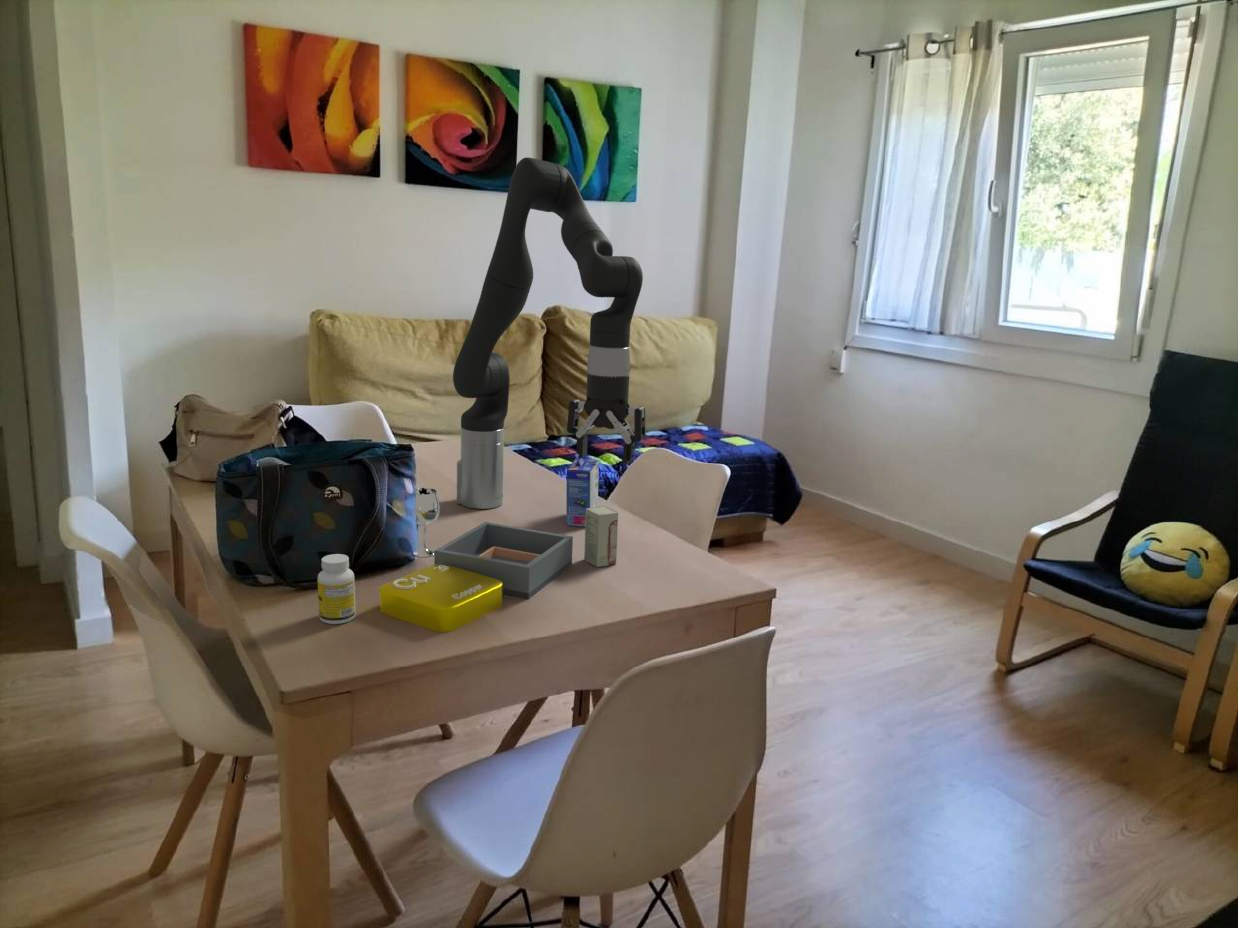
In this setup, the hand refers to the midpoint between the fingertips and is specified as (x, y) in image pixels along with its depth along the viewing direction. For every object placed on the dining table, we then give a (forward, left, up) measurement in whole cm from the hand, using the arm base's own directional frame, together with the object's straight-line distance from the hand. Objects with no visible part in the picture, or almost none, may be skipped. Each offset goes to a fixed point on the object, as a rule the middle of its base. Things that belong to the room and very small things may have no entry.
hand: (604, 460), depth 168 cm
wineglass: (-31, -11, -20) cm, 38 cm away
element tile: (-15, -31, -20) cm, 40 cm away
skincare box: (0, 0, -20) cm, 20 cm away
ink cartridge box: (-13, +22, -20) cm, 32 cm away
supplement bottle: (-27, -42, -20) cm, 54 cm away
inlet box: (-13, -13, -20) cm, 27 cm away
